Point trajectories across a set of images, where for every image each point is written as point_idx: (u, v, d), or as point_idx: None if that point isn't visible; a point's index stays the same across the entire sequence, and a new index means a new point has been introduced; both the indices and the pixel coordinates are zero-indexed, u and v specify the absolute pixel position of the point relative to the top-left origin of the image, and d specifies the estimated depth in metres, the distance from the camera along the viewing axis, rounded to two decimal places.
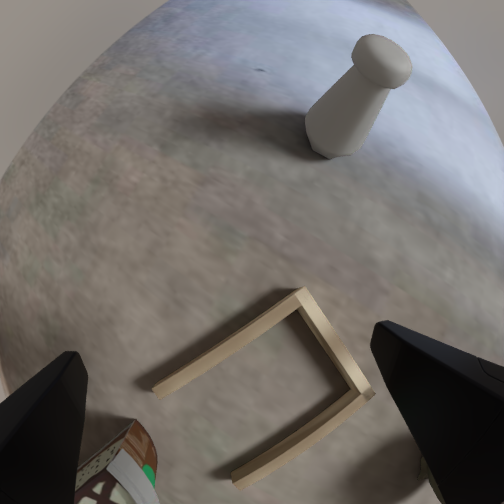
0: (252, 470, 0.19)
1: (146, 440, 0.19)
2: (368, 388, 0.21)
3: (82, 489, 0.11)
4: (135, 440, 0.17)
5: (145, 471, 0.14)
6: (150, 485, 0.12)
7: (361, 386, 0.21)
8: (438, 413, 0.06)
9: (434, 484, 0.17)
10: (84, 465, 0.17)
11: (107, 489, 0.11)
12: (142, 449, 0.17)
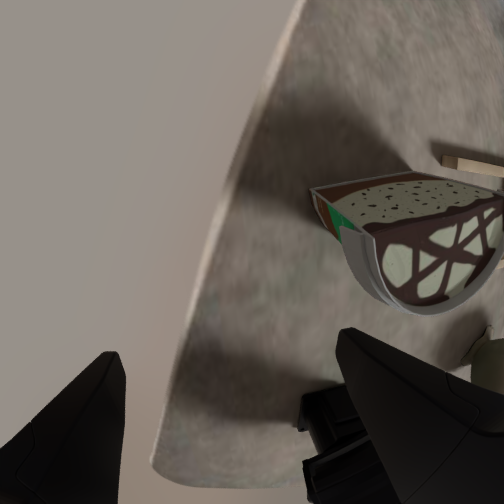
0: None
1: None
2: None
3: (479, 207, 0.13)
4: None
5: None
6: None
7: None
8: (400, 430, 0.05)
9: (493, 361, 0.26)
10: (351, 187, 0.19)
11: (491, 217, 0.13)
12: None
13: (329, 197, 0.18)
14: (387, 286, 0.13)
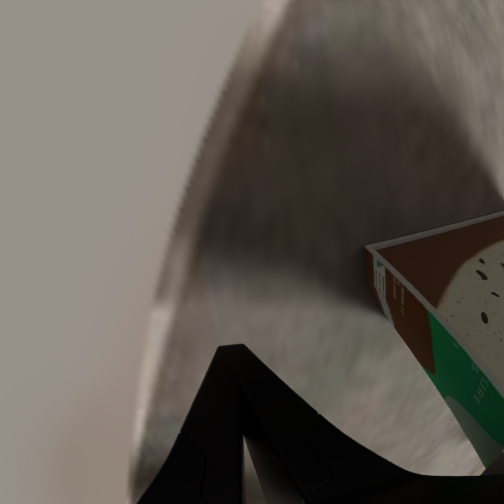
0: None
1: None
2: None
3: None
4: None
5: None
6: None
7: None
8: (264, 468, 0.05)
9: None
10: (444, 248, 0.09)
11: None
12: None
13: (418, 281, 0.07)
14: None
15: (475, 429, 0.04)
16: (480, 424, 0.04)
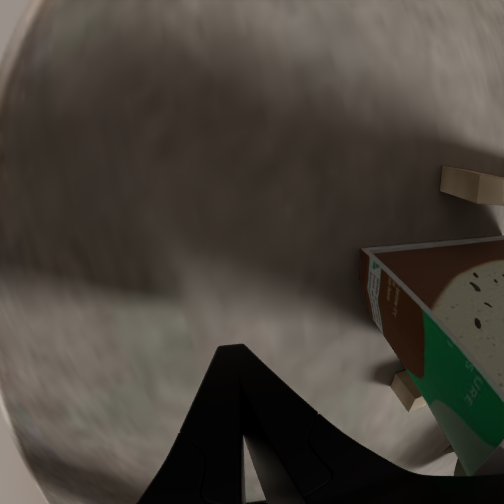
0: None
1: None
2: None
3: None
4: None
5: None
6: None
7: None
8: (264, 468, 0.05)
9: None
10: (439, 260, 0.09)
11: None
12: None
13: (414, 285, 0.08)
14: None
15: (464, 433, 0.04)
16: (470, 426, 0.04)
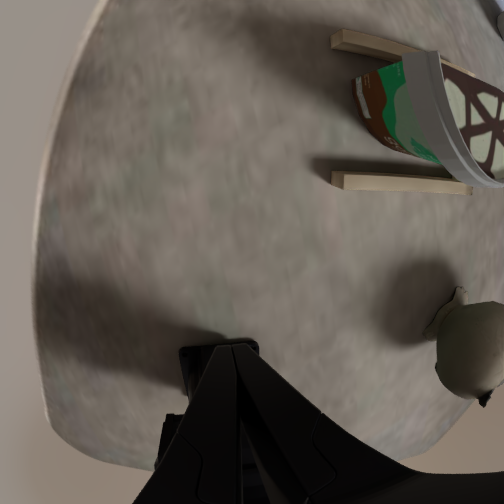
0: (366, 174, 0.19)
1: None
2: None
3: None
4: None
5: None
6: None
7: None
8: (267, 468, 0.05)
9: (462, 329, 0.22)
10: None
11: None
12: None
13: None
14: None
15: (405, 89, 0.12)
16: (404, 82, 0.12)
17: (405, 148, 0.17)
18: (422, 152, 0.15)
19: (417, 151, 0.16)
